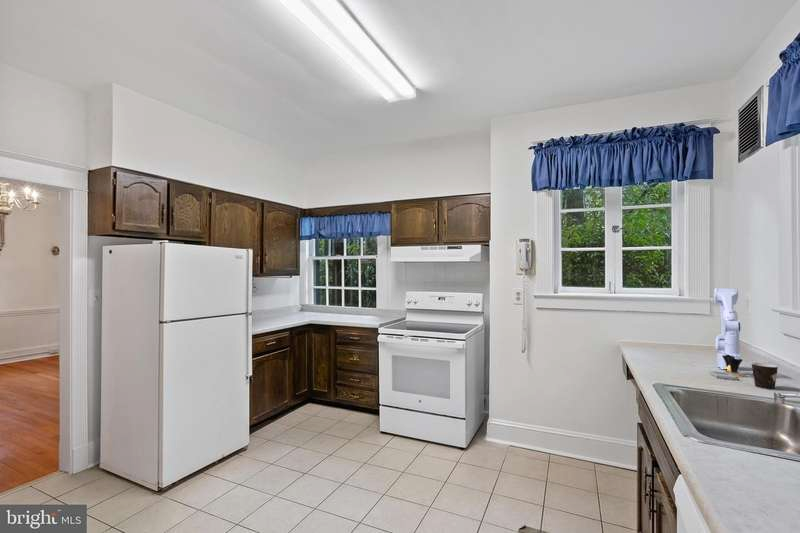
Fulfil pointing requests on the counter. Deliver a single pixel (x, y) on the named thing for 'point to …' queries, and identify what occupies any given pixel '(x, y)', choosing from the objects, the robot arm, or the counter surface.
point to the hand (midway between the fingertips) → (732, 371)
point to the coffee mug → (764, 375)
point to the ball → (730, 369)
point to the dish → (735, 373)
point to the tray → (724, 375)
